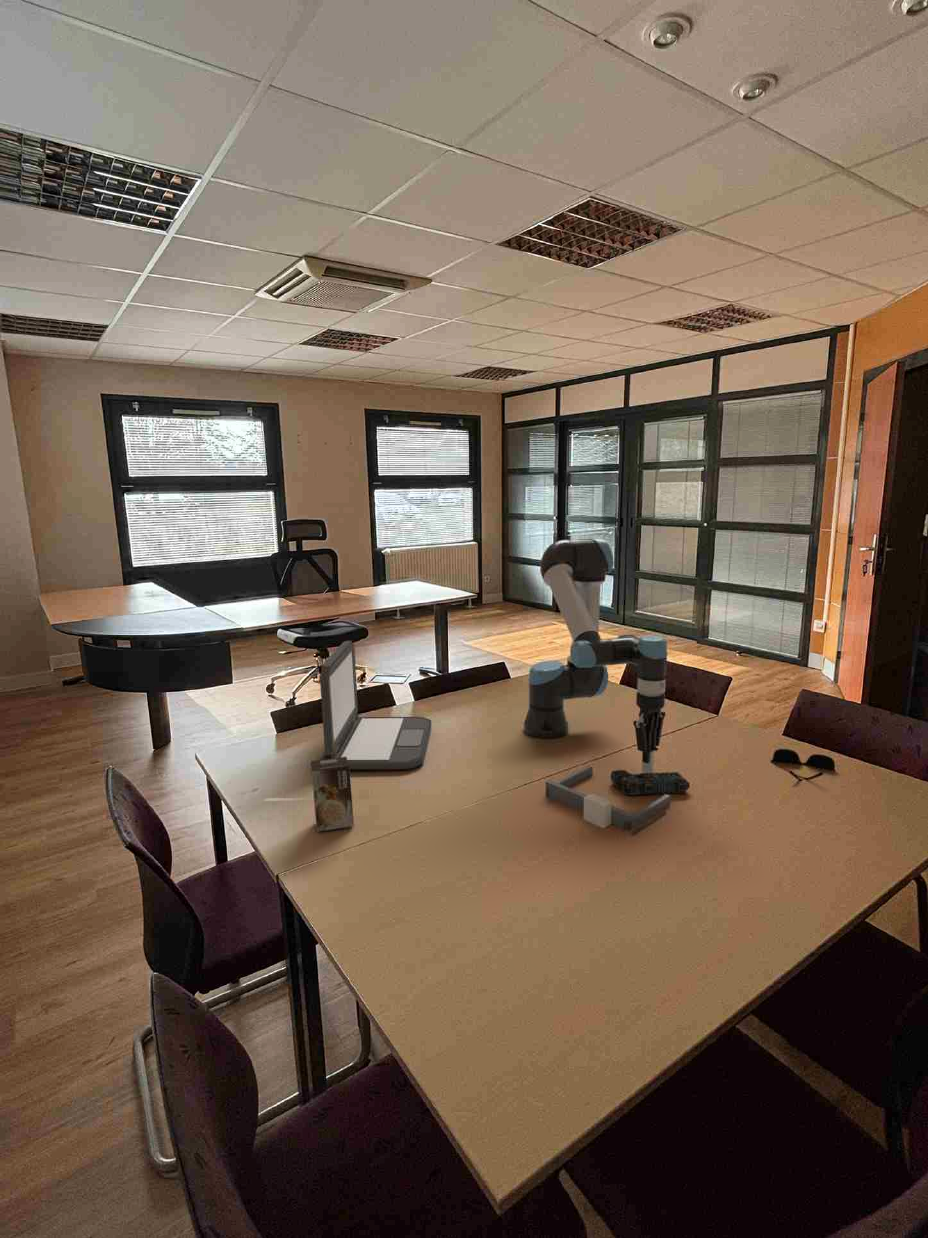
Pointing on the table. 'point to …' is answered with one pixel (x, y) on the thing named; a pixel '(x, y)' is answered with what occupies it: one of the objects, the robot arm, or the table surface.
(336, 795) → the coffee box
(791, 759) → the sunglasses
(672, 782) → the toy gun
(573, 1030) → the table surface
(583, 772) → the dock
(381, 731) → the laptop
